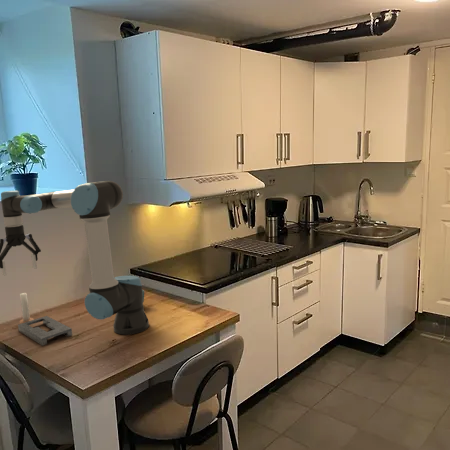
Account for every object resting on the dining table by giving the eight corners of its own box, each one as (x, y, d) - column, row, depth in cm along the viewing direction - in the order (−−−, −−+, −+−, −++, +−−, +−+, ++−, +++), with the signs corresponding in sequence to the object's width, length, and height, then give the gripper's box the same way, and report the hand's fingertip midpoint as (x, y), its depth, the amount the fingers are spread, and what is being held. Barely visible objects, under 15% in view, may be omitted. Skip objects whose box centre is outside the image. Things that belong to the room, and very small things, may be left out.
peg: (36, 322, 207) (32, 293, 205) (23, 326, 203) (19, 296, 201) (30, 319, 212) (27, 290, 209) (17, 323, 207) (14, 294, 205)
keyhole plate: (72, 335, 191) (71, 328, 190) (42, 345, 181) (41, 338, 181) (47, 321, 207) (46, 315, 207) (18, 330, 198) (17, 324, 198)
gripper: (37, 220, 211) (43, 264, 214) (-19, 229, 193) (-13, 276, 197) (45, 221, 206) (50, 266, 209) (-13, 230, 188) (-6, 279, 192)
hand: (20, 271), depth 203 cm, fingers open, 13 cm apart
